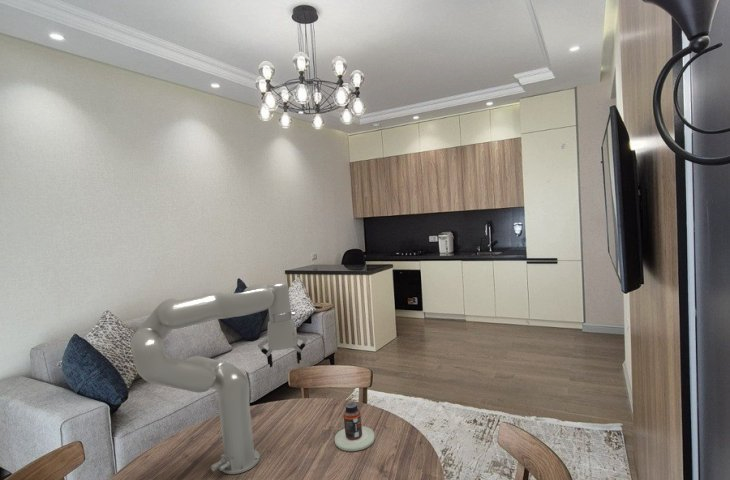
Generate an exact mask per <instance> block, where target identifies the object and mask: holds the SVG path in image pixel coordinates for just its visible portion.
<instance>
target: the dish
mask: <svg viewBox="0 0 730 480" xmlns="http://www.w3.org/2000/svg"><path fill="white" fill-rule="evenodd" d="M374 441H375V432H374V430H372V429H371V428H370V427H367V426H364V425H362V436H361V437H360V438H359V439H356V440H350V439H347V438H346V435H345V427H344V428H343V429H341V430H339V431H338V432H337V433H336V434H335V436H334V443H335V446H336V448H338V449H340V450H342V451H345V452H359V451H362V450H365V449H367V448H369V447H370V446H372V444H374Z"/></svg>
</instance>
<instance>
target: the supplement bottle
mask: <svg viewBox="0 0 730 480" xmlns="http://www.w3.org/2000/svg"><path fill="white" fill-rule="evenodd" d="M343 420H344V421H343V422H344V428H345V435H346V438H347V439H350V440H356V439H359V438H360V437H361V436H362V426H363V425H362V415H361V410H360V409H359V408H358V404H357V403H356V402H348V403H346V404H345V410H344V411H343Z"/></svg>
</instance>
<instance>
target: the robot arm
mask: <svg viewBox="0 0 730 480" xmlns="http://www.w3.org/2000/svg"><path fill="white" fill-rule="evenodd" d="M289 290H290V289H289V284H288V282H286V281H276V282H275V281H273V282H270V283H268V284H267V283H266V284H252V285H249V286H247V287H246V288H245V289H244V290H243V292H235V293H223V292H214V293H213V292H212V293H208V294H203V295H199V296H198V295H197V296H193V297H189V298H188V297H187V298H185V299H180V300H179V299H176V298H168V299H165V300H164V301H161V303H159V305H157V307H155V309H154V310H153V311H152V312H151V313H150V315H149V316H148V317H147V318H146V319H145V321H144V322H143V323H142V324H141V326H140V327H139V328H138V329H137V330H136V331H135V333H134V334H133V336H132V337H131V340H130V344H129V346H130V349H131V353H132V356H133V363H134V366H135V369H136V372H137V374H138V375H139V376H140V378H142V379H143V380H144V381H145V382H147V383H151V384H154V385H158V386H164V387H168V388H173V389H176V390H177V389H178V390H182V391H188V392H192V393H197V394H202V393H205V392H208V391H209V390H211V389H212V390H215V392H216V393H217V394H218V398H219V400H218V401H219V404H218V405H219V408H218V409H219V410H218V411H219V412H218V413H219V422H220V427H221V428H220V430H221V437H222V439H221V440H222V446H223V447H222V448H223V453H222V454H220V455H221V456H220V457H221V458H219V459H218V461H217V462H215V463H214V464H211V465H210V468H211V469H210V470H211V472H215V471H217V470H218V469H219V471H220V472H222V473H224V474H226V475H227V474H228V475H237V474H241V473H242V474H243V473H244V472H247V471H250V470H251V469H252V468H254V467H255V466H256V465H257V464H258V463H259V461H260V459H261V455H260V452H259V451H258V450H257V449H255V444H254V435H253V426H252V417H251V408H250V383H249V380H248V377H247V375H246V374H245V373H244V372H243V371H242V370H240V369H239V368H238V367H237V366H235V365H234V364H233V363H230V362H227V361H223V360H218V359H213V358H210V357H207V356H201V355H200V356H199V355H196V356H195V355H193V356H190V357H188V358H186V359H182V358H179V357H174V356H173V357H172V356H169V355H168V354H167V353H166V345H165V339H166V338H167V337H168V336H169V334H171V332H172V331H173V330H177V329H179V330H180V329H182V328H187V327H191V326H195V325H198V324H199V325H200V324H204V323H207V322H211V321H216V320H221V319H222V320H223V319H229V318H230V319H231V318H235V317H243V316H248V315H252V314H256V313H260V312H264V311H267V310H268V316H269V321H268V322H267V338H265V339H264V340H262V341H261V342H259V343H258V344H257V347H258V349H259V350H260V352H261V353H262V354H264V356H266V360H267V365H269V368H272V367H273V355H272V352H273V351H280V350H290V349H294V350H295V351H296V361H297V364H299V365H300V362H301V361H302V351H303V349H304V348H305V347H306V345H307V342H308V337H306V336H303V335H301V334H298V333H297V326H296V322H295V319H294V318H293V317H296V312H294V311H292V310H291V302H290V291H289ZM298 340H300V341H302V342H301V344H298ZM266 344H268V345H267V346H268V349H267V348H265V347H264V346H265V345H266Z"/></svg>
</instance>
